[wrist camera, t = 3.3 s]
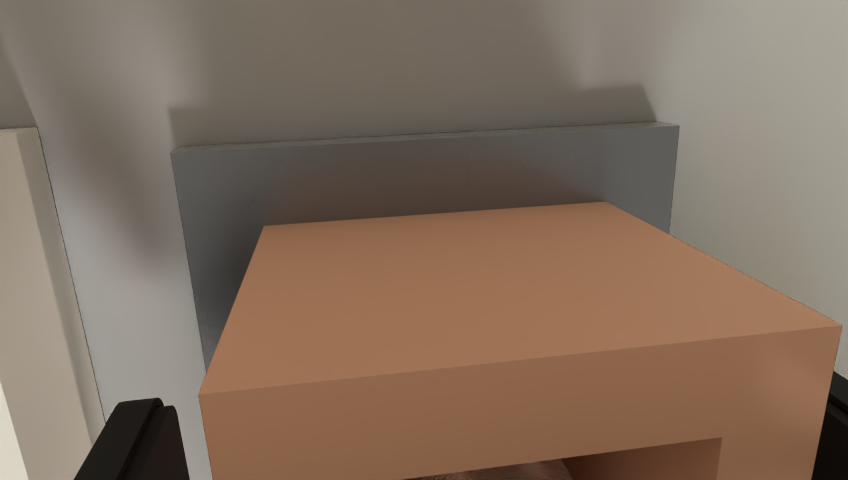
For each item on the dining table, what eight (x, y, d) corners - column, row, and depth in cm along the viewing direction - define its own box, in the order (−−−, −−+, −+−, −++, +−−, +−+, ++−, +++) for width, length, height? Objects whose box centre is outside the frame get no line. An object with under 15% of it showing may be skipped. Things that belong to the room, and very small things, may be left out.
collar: (606, 201, 12) (842, 324, 7) (588, 478, 14) (755, 751, 9) (263, 226, 11) (197, 395, 6) (299, 517, 13) (276, 852, 8)
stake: (659, 121, 13) (1043, 196, 6) (625, 496, 16) (854, 836, 9) (180, 146, 11) (-47, 282, 5) (244, 551, 14) (168, 1001, 8)
